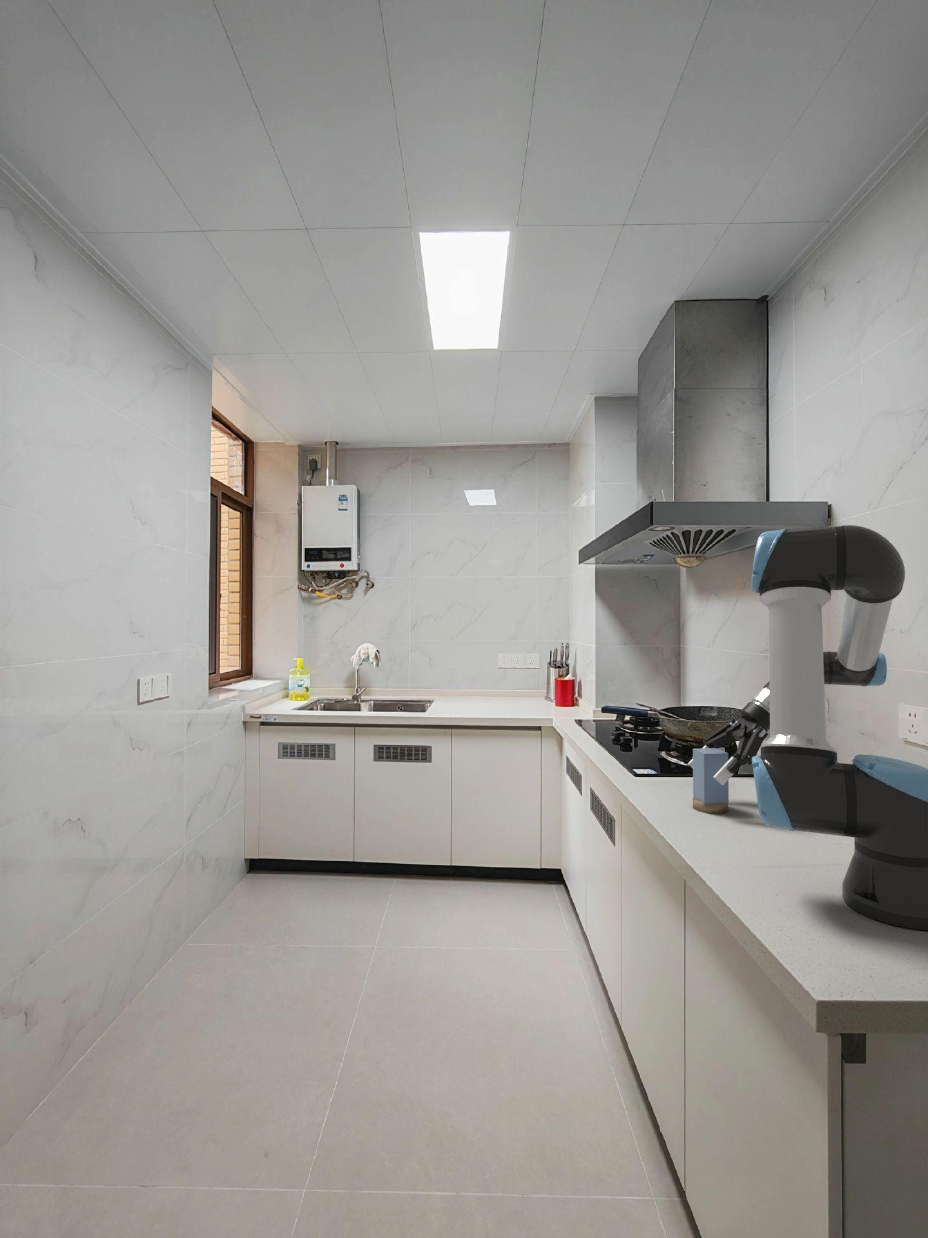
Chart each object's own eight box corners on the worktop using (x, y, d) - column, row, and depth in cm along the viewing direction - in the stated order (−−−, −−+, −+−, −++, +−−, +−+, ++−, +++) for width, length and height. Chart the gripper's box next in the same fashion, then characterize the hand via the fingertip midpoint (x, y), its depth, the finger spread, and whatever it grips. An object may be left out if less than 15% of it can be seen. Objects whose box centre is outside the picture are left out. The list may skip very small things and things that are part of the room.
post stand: (727, 815, 146) (727, 781, 146) (691, 811, 149) (690, 777, 149) (729, 806, 153) (728, 773, 153) (694, 802, 156) (694, 770, 156)
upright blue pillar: (728, 803, 148) (728, 753, 148) (704, 804, 148) (703, 753, 148) (716, 796, 154) (716, 748, 154) (693, 797, 154) (692, 748, 154)
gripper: (805, 730, 140) (741, 799, 139) (746, 714, 165) (692, 772, 164) (782, 707, 140) (718, 775, 138) (727, 694, 165) (672, 752, 163)
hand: (704, 774), depth 151 cm, fingers open, 13 cm apart
